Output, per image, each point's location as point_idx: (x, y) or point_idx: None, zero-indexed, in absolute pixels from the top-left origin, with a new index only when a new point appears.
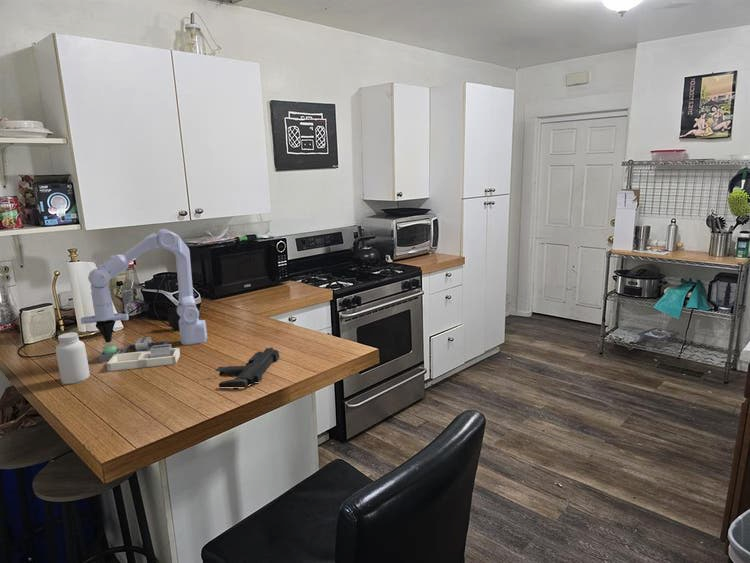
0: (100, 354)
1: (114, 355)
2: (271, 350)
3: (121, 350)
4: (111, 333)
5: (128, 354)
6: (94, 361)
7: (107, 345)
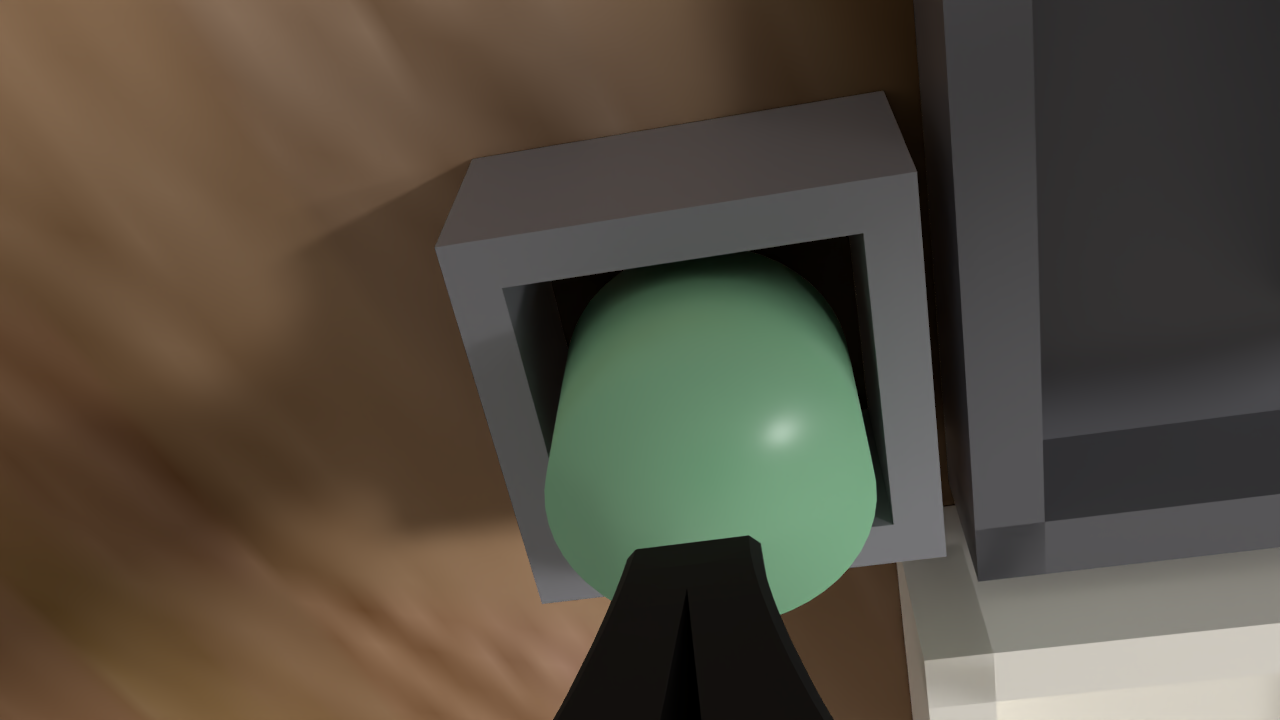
0: (538, 531)
1: (952, 715)
2: None
3: (917, 236)
4: (799, 702)
5: (1243, 661)
6: (347, 327)
7: (595, 413)
